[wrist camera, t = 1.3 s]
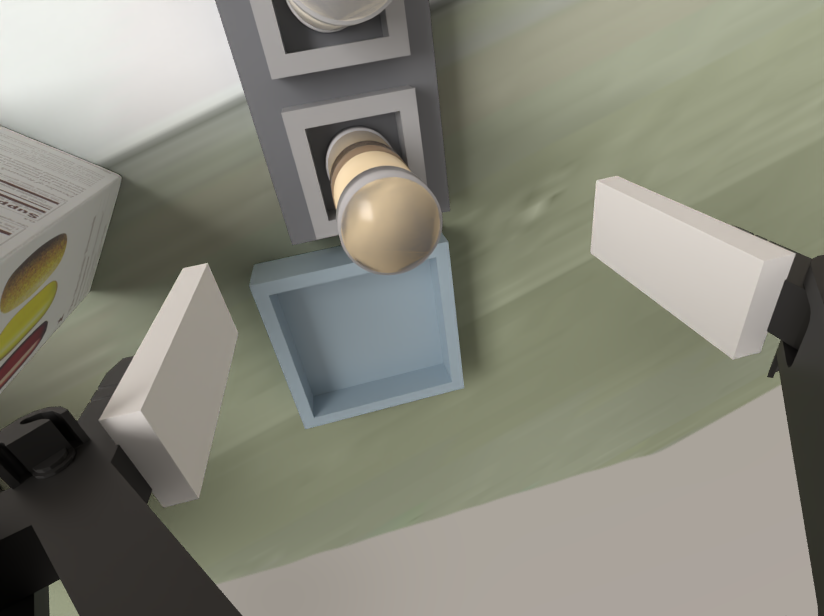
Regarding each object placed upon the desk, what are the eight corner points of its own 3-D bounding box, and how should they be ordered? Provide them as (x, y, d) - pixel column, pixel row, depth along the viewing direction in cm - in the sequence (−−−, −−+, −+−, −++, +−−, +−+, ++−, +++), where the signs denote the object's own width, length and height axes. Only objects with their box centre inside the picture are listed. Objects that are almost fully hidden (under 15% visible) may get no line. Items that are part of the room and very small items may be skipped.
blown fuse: (334, 200, 29) (351, 285, 19) (317, 132, 26) (326, 186, 16) (397, 187, 29) (447, 262, 19) (385, 118, 27) (436, 164, 17)
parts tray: (305, 401, 40) (305, 429, 37) (253, 264, 33) (248, 286, 30) (452, 363, 42) (464, 387, 39) (435, 224, 34) (448, 241, 31)
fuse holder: (293, 229, 32) (287, 349, 19) (191, -100, 22) (50, -284, 10) (439, 198, 33) (522, 292, 21) (401, -128, 24) (515, -325, 11)
